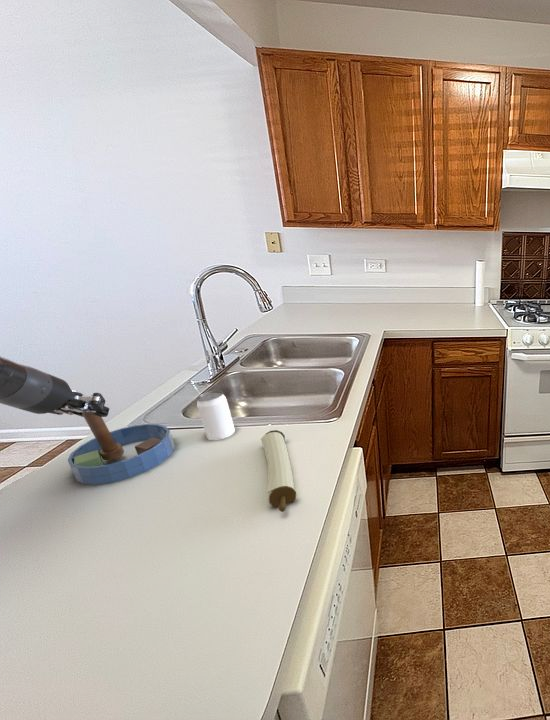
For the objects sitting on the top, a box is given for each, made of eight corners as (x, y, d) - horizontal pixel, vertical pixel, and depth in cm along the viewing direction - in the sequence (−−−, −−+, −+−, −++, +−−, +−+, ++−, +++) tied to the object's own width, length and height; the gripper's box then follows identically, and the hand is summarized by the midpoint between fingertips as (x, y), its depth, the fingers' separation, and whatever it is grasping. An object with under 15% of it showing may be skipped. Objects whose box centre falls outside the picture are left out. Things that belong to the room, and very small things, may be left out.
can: (233, 426, 110) (222, 387, 106) (237, 436, 105) (226, 396, 101) (205, 434, 106) (193, 394, 102) (209, 445, 102) (196, 403, 97)
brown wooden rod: (99, 462, 92) (68, 409, 85) (106, 451, 95) (77, 399, 88) (120, 458, 93) (92, 405, 86) (127, 447, 96) (100, 396, 89)
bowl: (55, 493, 85) (46, 474, 83) (106, 446, 101) (98, 429, 99) (154, 479, 89) (147, 460, 87) (187, 436, 106) (181, 419, 104)
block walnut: (151, 463, 94) (146, 449, 92) (139, 460, 95) (134, 446, 93) (168, 453, 97) (163, 439, 96) (156, 451, 98) (151, 437, 97)
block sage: (80, 479, 88) (73, 464, 87) (81, 471, 91) (74, 456, 90) (104, 471, 91) (98, 457, 89) (104, 463, 93) (98, 449, 92)
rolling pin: (300, 514, 79) (296, 494, 77) (269, 525, 76) (263, 504, 75) (286, 437, 105) (283, 420, 103) (263, 442, 103) (259, 426, 101)
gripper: (74, 368, 77) (136, 395, 93) (-8, 372, 75) (69, 399, 91) (63, 405, 74) (128, 426, 90) (-23, 410, 72) (59, 431, 88)
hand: (98, 413), depth 91 cm, fingers closed on brown wooden rod, 2 cm apart
